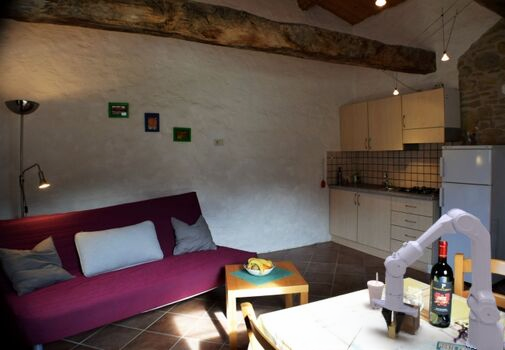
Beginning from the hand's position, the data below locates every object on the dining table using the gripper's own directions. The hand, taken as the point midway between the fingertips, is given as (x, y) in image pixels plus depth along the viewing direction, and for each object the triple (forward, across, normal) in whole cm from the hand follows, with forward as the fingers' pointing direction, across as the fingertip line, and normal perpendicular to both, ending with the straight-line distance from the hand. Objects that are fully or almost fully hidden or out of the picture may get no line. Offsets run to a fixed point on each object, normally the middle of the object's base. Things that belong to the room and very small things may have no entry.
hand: (393, 331), depth 114 cm
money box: (+1, -2, -8) cm, 9 cm away
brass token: (+1, 0, 0) cm, 1 cm away
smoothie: (+2, +12, -18) cm, 22 cm away
